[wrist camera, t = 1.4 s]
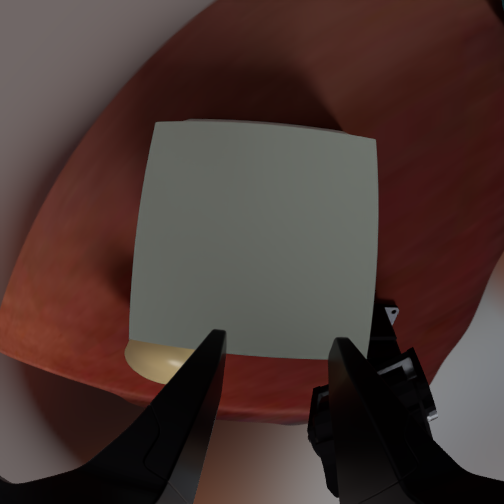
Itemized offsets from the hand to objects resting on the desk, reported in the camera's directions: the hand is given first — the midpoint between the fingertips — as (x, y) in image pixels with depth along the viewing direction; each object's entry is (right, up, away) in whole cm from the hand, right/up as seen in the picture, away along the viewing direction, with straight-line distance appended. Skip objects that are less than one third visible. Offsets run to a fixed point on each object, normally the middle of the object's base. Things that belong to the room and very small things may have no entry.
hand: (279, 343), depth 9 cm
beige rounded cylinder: (-8, -3, +17) cm, 19 cm away
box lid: (-1, +4, +4) cm, 6 cm away
